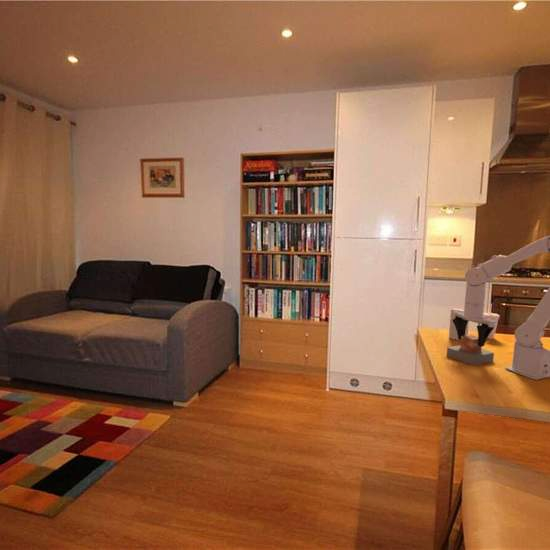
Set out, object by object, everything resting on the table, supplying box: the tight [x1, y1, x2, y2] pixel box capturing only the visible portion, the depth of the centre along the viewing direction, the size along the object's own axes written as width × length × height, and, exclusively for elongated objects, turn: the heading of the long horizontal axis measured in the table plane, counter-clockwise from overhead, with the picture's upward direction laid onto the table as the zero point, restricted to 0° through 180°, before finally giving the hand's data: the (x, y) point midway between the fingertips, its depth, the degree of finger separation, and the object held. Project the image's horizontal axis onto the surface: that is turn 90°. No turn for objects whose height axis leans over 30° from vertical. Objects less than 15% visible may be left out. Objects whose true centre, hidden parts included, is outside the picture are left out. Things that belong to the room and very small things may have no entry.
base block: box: [446, 344, 495, 366], centre depth 126 cm, size 10×10×3 cm
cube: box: [460, 334, 483, 353], centre depth 126 cm, size 4×4×4 cm
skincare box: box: [448, 307, 470, 341], centre depth 149 cm, size 6×4×12 cm
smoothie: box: [483, 303, 501, 340], centre depth 151 cm, size 6×6×14 cm
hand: (470, 342), depth 126 cm, fingers open, 7 cm apart
